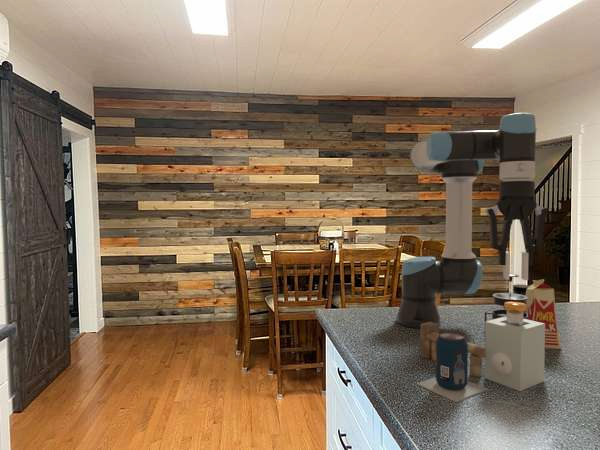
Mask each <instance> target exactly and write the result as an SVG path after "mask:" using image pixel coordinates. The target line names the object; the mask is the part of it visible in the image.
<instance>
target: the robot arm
mask: <svg viewBox="0 0 600 450" xmlns="http://www.w3.org/2000/svg"><path fill="white" fill-rule="evenodd" d="M536 124H537V122H536V117H535V115H534V114H533V113H529V112H515V113H510V114H505V115H503V116H502V117H501V118H500V122H499V127H498V129H497V130H494V129H492V130H490V129H489V130H468V131H467V130H465V131H463V130H460V131H459V130H458V131H456V130H455V131H453V130H451V131H450V130H449V131H446V130H441V131H433V132H430V133H429V134H428V137H427V139H426V140H422V141H420V142H417V143H416V144H414V146H412V148H411V149H410V151H409V161H410V164H411V165H412V166H413V167H414V168H415V169H417V170H418V171H420V172H423V173H427V174H441V180H442V181H443V182H444V183H445V184H446V185H445V251H444V252H443V253H442V254H441V256H440V260H437V258H436V257H435V256H430V255H429V256H415V257H411V258H408V259H405V260H404V261H403V262H402V264H401V272H400V273H401V303H400V306H399V308H398V312H397V314H396V322H397V324H399V325H401V326H404V327H409V328H413V329H421V324H423V323H427V322H433V323H436V324H439V326H441V323H442V322H441V320H442V319H441V316H440V312H439V309H438V306H437V302H436V298H437V297H436V295H439V294H440V295H447V294H448V295H449V294H451V295H453V294H454V295H468V294H470V295H471V294H475V293H476V292H477V291H478V290H479V289H480V287H481V284H482V281H483V280H482V279H483V268H482V267H483V265H482V263H481V262H480V261H479V260H477V255H475V253H473V251H472V247H473V246H472V242H473V241H472V239H473V237H472V236H473V235H472V234H473V231H472V230H473V229H472V228H473V227H472V226H473V183H474V181H476V179H478V174H480V173H481V172H482V171H483V169H484V163H485V161H491V162H499V175H498V177H499V180H501V181H500V183H499V184H498V198H499V199H498V200H497V203H496V205H494V206H492V207H489V208H488V207H487V208H486V209H485V213H486V215H487V217H488V222H489V223H488V224H489V237H490V238H489V239H490V241H489V242H490V247H491V248H492V249H494V250H496V251H498V263H499V265H500V266H503V267H502V268H503V269H502V270H503V274H502V275H503V277H502V279H504V280H506V281H509V274H510V271H511V270H510V269H511V268H510V264H511V263H510V262H511V261H510V260H511V258H510V254H511V252H509V251H507V249H508V243H509V239H510V238H509V237H510V234H511V230H512V229H511V228H512V224H513V222H514V221H516V220H517V221H519V223H520V227H521V228H520V229H521V233H522V238H523V243H524V244H523V245H524V249H525V251H521V275H520V276H521V279H522V280H524V281H529V267H531V266H533V264H534V253H535V252H536V251H541V250H543V249H542V248H543V242H544V231H545V219H546V217H547V216H548V213H549V211H550V210H549V208H548V207H542V206H540V205H539V204H537V202H536V199H535V196H536V195H535V191H536V186H535V185H536V182H535V181H533V179H535V177H536V139H537V137H536V136H537V134H536V133H537V126H536ZM498 211H499V212H500V213H501V215H502V216H503V224H502V225H503V226H502V230H501V235H500V240H498V239H499V236H498V221H497V216H498V215H499V214H498V213H499V212H498ZM533 212H535V213H534V214H535V215H536V218H535V226H534V236H532V231H531V227H530V223H531V222H530V216H531V215H532V213H533ZM532 237H533V239H532Z"/></svg>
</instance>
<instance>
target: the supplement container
mask: <svg viewBox="0 0 600 450" xmlns="http://www.w3.org/2000/svg"><path fill="white" fill-rule="evenodd" d="M530 286H531V285H528V284H519V283H518V284H513V285H512V293H514V294H521V295H526V290H527V288H529V287H530Z"/></svg>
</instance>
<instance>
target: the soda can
mask: <svg viewBox="0 0 600 450" xmlns="http://www.w3.org/2000/svg"><path fill="white" fill-rule="evenodd" d="M467 343H468V341H467V340H466V336H465V334H463V333H460V332H456V331H455V332H454V331H442V332H439V337H438V339H437V340H436V361H435V377H436V381H437V383H438V384H439V386H440V387H441V388H443V389H445V390H449V391H461V390H463V389H464V388H465V386H466V385H467V381H468V365H469V364H468V362H469V361H468V358H469V357H468V356H469V355H468V354H469V353H468V344H467Z"/></svg>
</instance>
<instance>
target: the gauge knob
mask: <svg viewBox="0 0 600 450" xmlns="http://www.w3.org/2000/svg"><path fill="white" fill-rule="evenodd" d="M503 310H507V314H506V316H507V324H510V325H514V326H518V327H520V326H523V311H526V304H524V303H520V302H505V303H504V306H503Z"/></svg>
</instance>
